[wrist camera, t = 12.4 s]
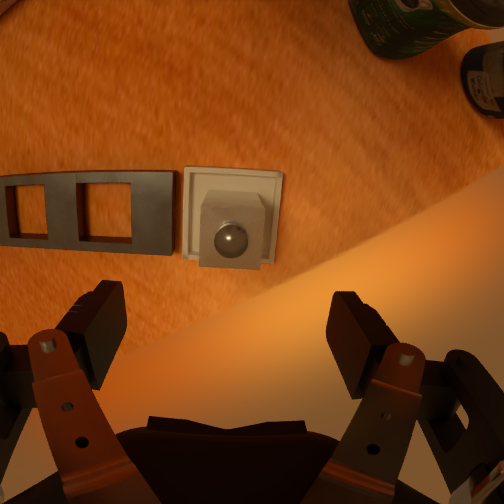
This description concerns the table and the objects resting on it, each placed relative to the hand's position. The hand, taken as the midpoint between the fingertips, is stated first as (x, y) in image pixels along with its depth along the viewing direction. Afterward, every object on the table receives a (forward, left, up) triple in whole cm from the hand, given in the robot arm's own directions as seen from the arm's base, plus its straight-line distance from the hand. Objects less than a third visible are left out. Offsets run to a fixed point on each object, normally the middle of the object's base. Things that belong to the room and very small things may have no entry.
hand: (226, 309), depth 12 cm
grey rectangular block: (+1, 0, -20) cm, 20 cm away
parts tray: (+1, 0, -20) cm, 20 cm away
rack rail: (+1, -17, -20) cm, 27 cm away
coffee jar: (-22, +15, -21) cm, 34 cm away
